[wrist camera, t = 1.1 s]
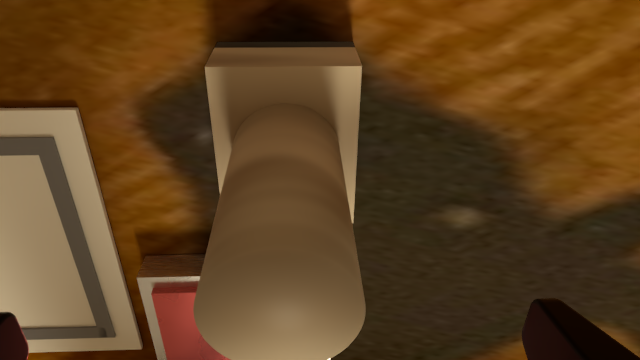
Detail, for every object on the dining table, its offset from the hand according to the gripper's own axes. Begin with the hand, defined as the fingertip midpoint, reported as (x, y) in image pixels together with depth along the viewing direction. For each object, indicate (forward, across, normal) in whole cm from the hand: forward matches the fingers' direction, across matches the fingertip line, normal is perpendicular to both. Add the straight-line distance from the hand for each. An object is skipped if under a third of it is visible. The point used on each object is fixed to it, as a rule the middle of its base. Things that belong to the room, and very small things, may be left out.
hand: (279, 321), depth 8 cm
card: (+8, +12, +5) cm, 15 cm away
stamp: (+8, 0, 0) cm, 8 cm away
